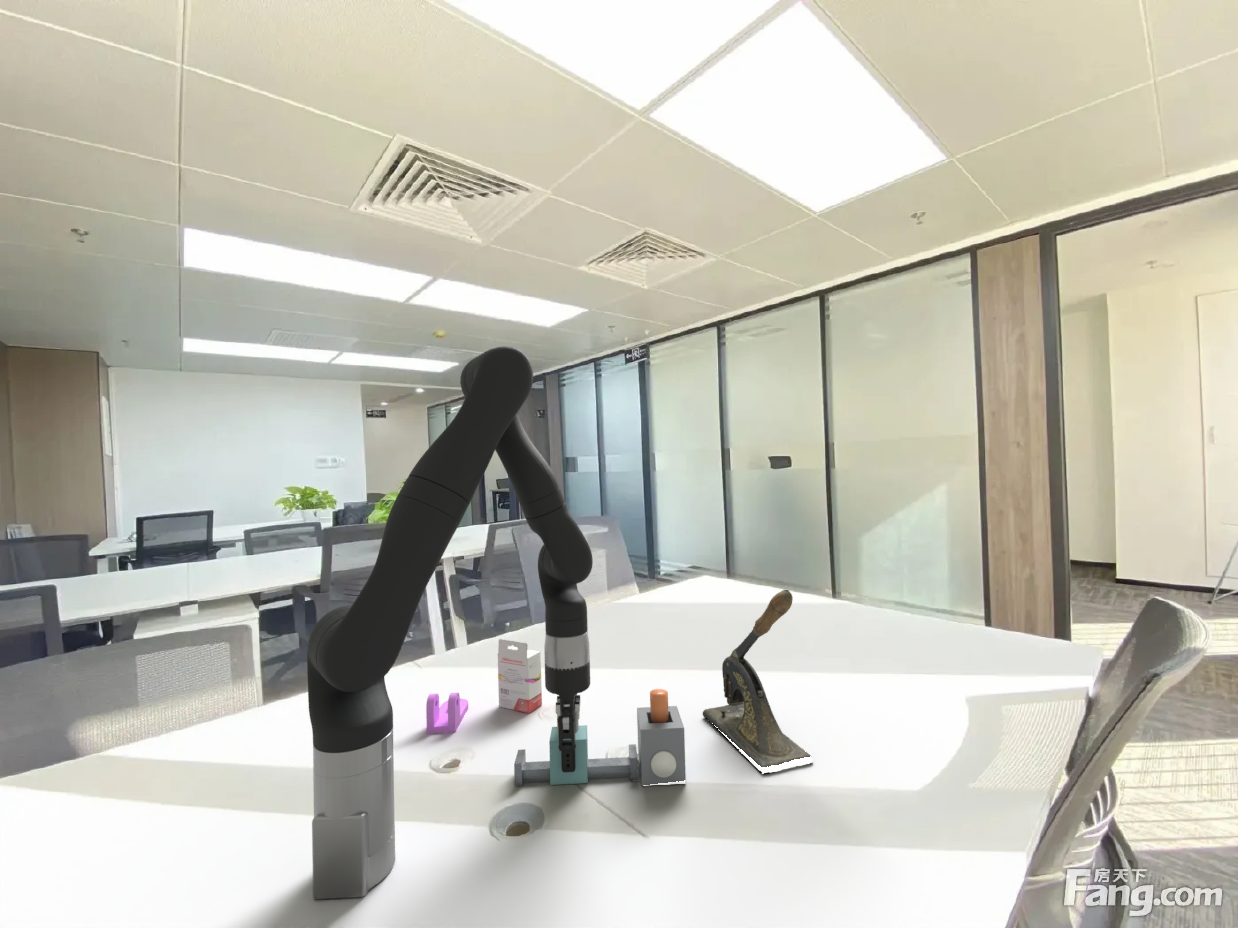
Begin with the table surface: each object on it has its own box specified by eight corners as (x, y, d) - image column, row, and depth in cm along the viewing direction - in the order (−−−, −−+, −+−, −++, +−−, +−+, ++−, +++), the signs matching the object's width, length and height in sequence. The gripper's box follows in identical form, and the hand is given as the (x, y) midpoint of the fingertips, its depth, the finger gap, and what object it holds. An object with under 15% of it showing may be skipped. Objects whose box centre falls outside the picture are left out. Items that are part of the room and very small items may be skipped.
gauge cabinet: (686, 785, 84) (684, 728, 84) (642, 788, 83) (640, 730, 84) (678, 757, 92) (676, 705, 92) (638, 759, 92) (636, 707, 92)
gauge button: (669, 722, 87) (668, 695, 87) (651, 723, 87) (650, 696, 87) (667, 714, 90) (666, 688, 90) (649, 715, 90) (649, 689, 90)
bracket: (455, 732, 104) (454, 697, 104) (426, 734, 103) (426, 698, 104) (470, 704, 117) (470, 672, 117) (445, 705, 116) (444, 673, 116)
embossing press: (748, 709, 110) (744, 566, 111) (819, 769, 88) (813, 588, 88) (700, 716, 108) (696, 569, 108) (761, 780, 85) (755, 594, 85)
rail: (638, 780, 86) (637, 757, 86) (514, 786, 85) (514, 763, 85) (636, 765, 90) (635, 744, 90) (518, 771, 89) (518, 749, 89)
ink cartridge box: (543, 704, 115) (541, 637, 115) (529, 714, 111) (527, 643, 111) (512, 698, 119) (511, 632, 119) (497, 706, 115) (496, 638, 115)
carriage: (587, 782, 85) (586, 739, 85) (550, 784, 85) (549, 740, 85) (588, 766, 90) (587, 725, 90) (552, 768, 90) (552, 726, 90)
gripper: (589, 673, 81) (591, 786, 80) (590, 644, 95) (592, 739, 95) (539, 675, 80) (542, 788, 80) (548, 645, 95) (550, 741, 94)
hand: (569, 761), depth 87 cm, fingers closed on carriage, 4 cm apart
